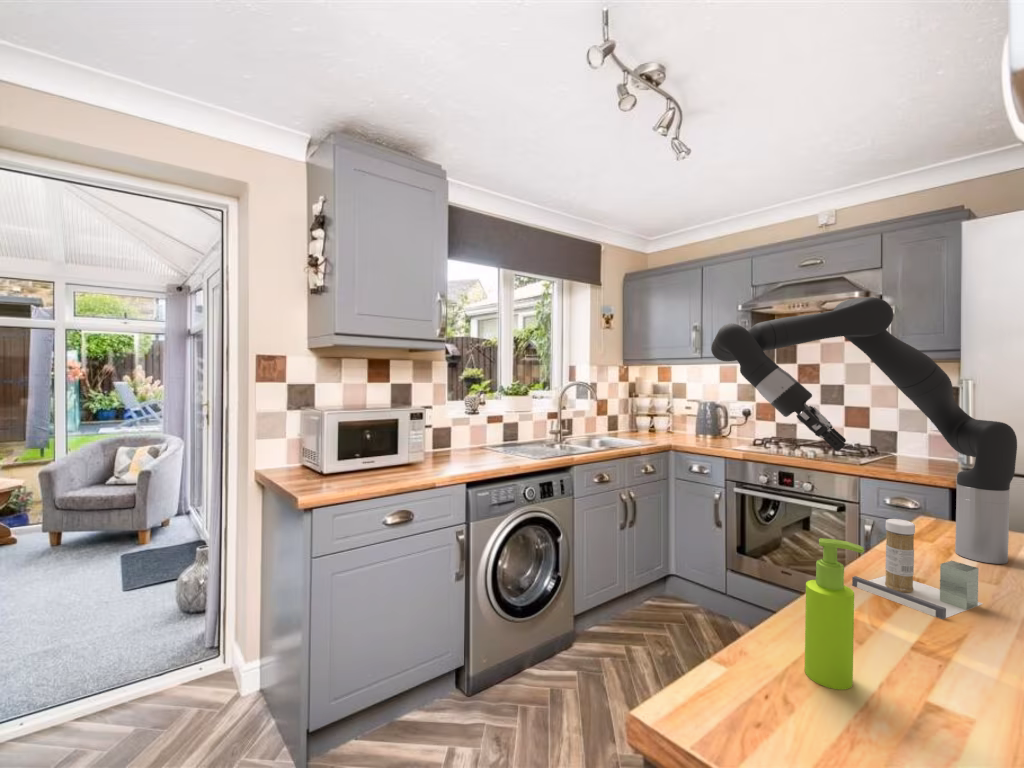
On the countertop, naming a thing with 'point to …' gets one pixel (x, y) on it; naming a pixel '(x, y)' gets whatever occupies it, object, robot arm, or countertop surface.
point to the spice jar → (900, 555)
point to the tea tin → (959, 584)
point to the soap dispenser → (830, 620)
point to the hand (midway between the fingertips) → (842, 445)
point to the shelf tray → (911, 597)
